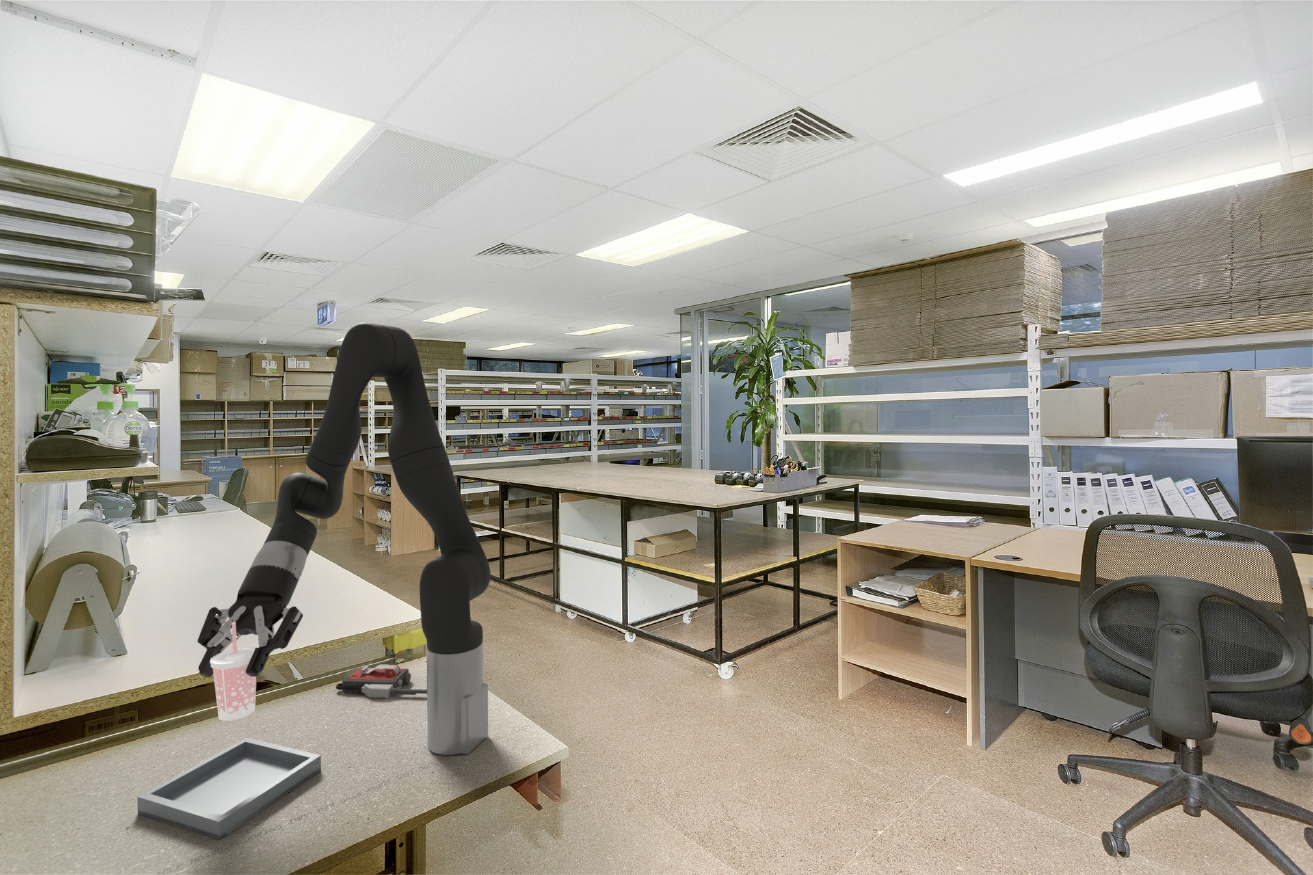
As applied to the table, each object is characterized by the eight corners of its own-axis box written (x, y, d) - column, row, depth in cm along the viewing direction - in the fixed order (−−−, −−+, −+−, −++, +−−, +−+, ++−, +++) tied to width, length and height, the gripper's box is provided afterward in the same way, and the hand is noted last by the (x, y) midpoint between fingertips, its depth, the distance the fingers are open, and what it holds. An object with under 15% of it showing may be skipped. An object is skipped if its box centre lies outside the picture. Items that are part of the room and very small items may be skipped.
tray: (321, 770, 94) (320, 755, 94) (219, 839, 78) (219, 821, 78) (246, 751, 98) (246, 737, 98) (137, 813, 83) (137, 796, 83)
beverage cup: (270, 702, 93) (267, 615, 92) (243, 723, 86) (239, 630, 86) (231, 702, 93) (228, 615, 92) (201, 723, 86) (197, 630, 86)
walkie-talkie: (328, 699, 117) (427, 701, 117) (328, 677, 117) (427, 679, 117) (352, 678, 126) (444, 681, 126) (352, 658, 126) (444, 661, 125)
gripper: (219, 563, 96) (163, 666, 84) (308, 562, 96) (265, 664, 85) (242, 585, 101) (192, 684, 90) (326, 584, 102) (288, 683, 90)
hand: (228, 674), depth 88 cm, fingers closed on beverage cup, 6 cm apart
